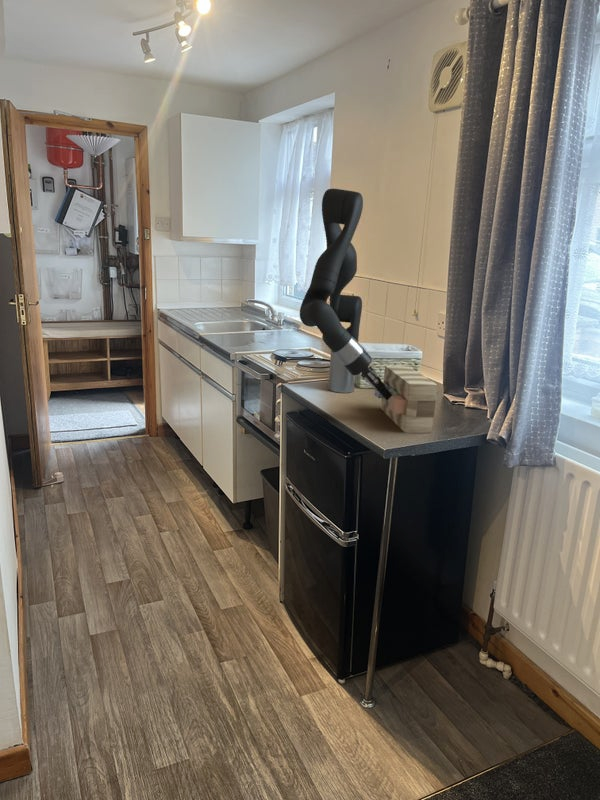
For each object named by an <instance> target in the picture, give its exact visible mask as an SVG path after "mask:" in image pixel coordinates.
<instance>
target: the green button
mask: <svg viewBox="0 0 600 800" xmlns="http://www.w3.org/2000/svg"><path fill="white" fill-rule="evenodd" d="M389 392H390V393H391V394H392V396H397V393H398V391H396V390H395V389H389ZM388 402H389V403H391V397H390V398H389V399H388Z"/></svg>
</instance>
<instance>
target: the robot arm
mask: <svg viewBox="0 0 600 800" xmlns="http://www.w3.org/2000/svg"><path fill="white" fill-rule="evenodd" d="M363 206H364V199H363V195H362V193H360V192H358V191H353V190H348V189H340V188H328V189H326V190H325V192H324V194H323V196H322V200H321V214H322V222H323V228H324V235H325V240H326V248H325V250H324V251H323V252H322V253H321V254H320V256H319V257H318V259H317V260H316V263H315V265H314V268H313V274H312V276H311V280H310V284H309V287H308V289H307V291H306V293H305V295H304V298H303V300H302V302H301V305H300V308H299V320H300V321H301V323H302V324H304V326H306V327H316V328H317V329H318V330H319V331H320V333H321V338H322V342H323V343H324V344H325V345H326V346H327V348H329V349H330V360H329V373H328V387H327V389H328V390H329V391H331V392H334V393H342V394H344V393H345V394H346V393H354V391H355V385H356V384H355V375H358V374H359V373H362V374H361V376H362V378H363V379H365V380H366V381H367V382H368V383H369V384H370V385H371V386H372V387H375V389H376V390H377V391H379V392H380V393H381V395H382V396H383V397H384V398H385V399H386V400H388V399H389V398H390V397H391V396H392V394H391V393H390V392H389V391H388V390H387V389H386V387H385V384H383V382H382V381H381V378H380V377H379V376H378V375H377V373H376V371H375V370H374V369H373V368H372V367H371V366H370V367H369V364H370V363H371V361H372V358H371V356H370V355H369V354H368V353H367V352H366V351H365V350H364V348H363V347H362V346H361V345H360V344H359V343H360V342H359V336H360V326H361V325H360V324H361V319H362V318H361V317H362V311H363V300H362V298H361V296H359V295H348V294H341V293H342V292H343V290H345V289H344V288H346V287H347V286H348V284H349V283H351V281H352V280H353V279H354V277H356V274H357V271H358V265H357V264H358V258H357V257H358V256H357V251H356V249H355V246H354V245H353V243H352V240H353V237H354V234H355V232H356V230H357V227H358V225H359V222H360V220H361V217H362V216H361V215H362V212H363V208H364V207H363ZM341 225H343V227H342V228H341ZM328 300H329V303H328ZM342 323H350V325H349V326H348V327H347V328H345V327H344V326H343V324H342Z"/></svg>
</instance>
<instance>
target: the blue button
mask: <svg viewBox="0 0 600 800" xmlns="http://www.w3.org/2000/svg"><path fill="white" fill-rule="evenodd" d="M383 384H385V387H386V389H387V390H388V391H389V385H388V384H387V383H383ZM374 396H376V397H377V398H378V399H382V398H384V397H383V396H382V395H381V393H380V392H379V391H377V390H376V389H375V391H374Z"/></svg>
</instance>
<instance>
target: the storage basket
mask: <svg viewBox="0 0 600 800" xmlns="http://www.w3.org/2000/svg"><path fill="white" fill-rule="evenodd" d="M358 343H359V344H360V345H361V346H362V347H363V348H364V350H365V351H366V352H367V353H368V354H369V355H370V356H371V358H372V361H371V363H370V364H369V367H370V366H371V367H372V368H373V369H374V370H375V371H376V373H377V375H378V376H379V377H380V378H381V381H382V382H384V371H385V366H410V367H411V368H413V369H414V370H416V371H417V372H419V373H420V367H421V363H422V358H423V351H422V350H421V349H419V348H418V347H415V346H414V345H412V344H406V343H405V344H403V343H402V344H401V343H377V342H376V343H375V342H358ZM361 374H362V373H359V374H358V375H355V385H356V386H357V388H359V389H365V390H367V389H368V390H369V389H373V390H374V389H375V387H372V386H371V385H370V384H369V383H368V382H367V381H366V380H365V379H363V378H362V376H361Z"/></svg>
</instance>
